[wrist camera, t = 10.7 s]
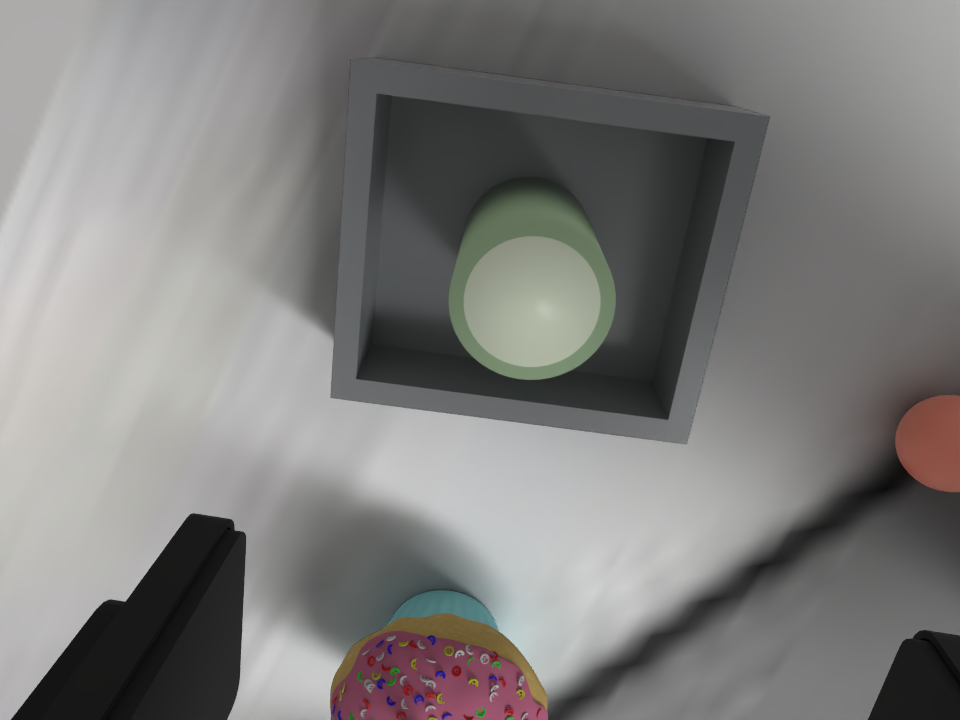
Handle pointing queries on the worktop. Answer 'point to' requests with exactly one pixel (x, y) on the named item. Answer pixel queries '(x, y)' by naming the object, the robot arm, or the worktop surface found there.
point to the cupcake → (437, 667)
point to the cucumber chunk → (530, 282)
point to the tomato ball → (932, 442)
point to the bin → (610, 210)
